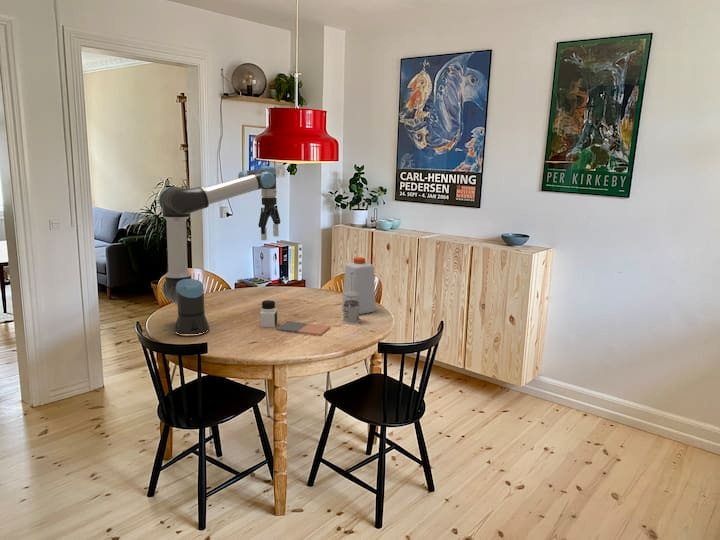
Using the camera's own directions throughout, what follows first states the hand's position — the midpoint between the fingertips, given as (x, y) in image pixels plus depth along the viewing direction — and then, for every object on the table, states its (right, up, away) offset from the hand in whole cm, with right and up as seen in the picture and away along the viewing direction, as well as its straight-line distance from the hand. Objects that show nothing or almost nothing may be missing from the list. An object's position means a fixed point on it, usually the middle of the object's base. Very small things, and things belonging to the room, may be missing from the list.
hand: (270, 238), depth 282 cm
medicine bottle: (+3, -43, -22) cm, 48 cm away
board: (+20, -44, -28) cm, 56 cm away
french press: (+42, -42, -13) cm, 61 cm away
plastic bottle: (+46, -38, +4) cm, 60 cm away
